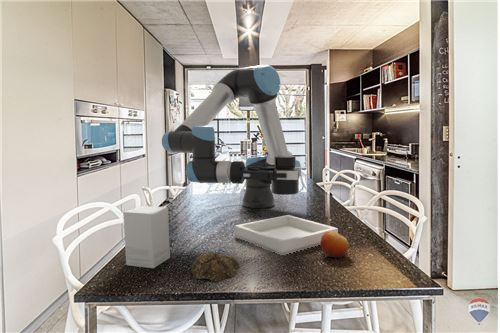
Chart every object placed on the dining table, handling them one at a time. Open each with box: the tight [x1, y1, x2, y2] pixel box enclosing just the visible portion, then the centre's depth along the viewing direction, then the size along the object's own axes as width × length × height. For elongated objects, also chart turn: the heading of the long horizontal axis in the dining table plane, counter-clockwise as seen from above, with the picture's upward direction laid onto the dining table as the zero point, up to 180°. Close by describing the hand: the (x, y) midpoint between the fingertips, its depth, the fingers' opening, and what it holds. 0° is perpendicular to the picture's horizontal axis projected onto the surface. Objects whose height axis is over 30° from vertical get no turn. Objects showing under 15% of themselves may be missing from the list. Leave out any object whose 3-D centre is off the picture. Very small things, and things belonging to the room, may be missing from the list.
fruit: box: [320, 231, 350, 259], centre depth 109 cm, size 8×8×8 cm
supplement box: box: [122, 205, 171, 269], centre depth 106 cm, size 9×9×15 cm
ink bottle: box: [271, 155, 300, 196], centre depth 124 cm, size 10×9×12 cm
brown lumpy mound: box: [190, 252, 240, 283], centre depth 99 cm, size 13×12×5 cm
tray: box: [234, 214, 339, 256], centre depth 126 cm, size 24×24×4 cm
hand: (299, 173), depth 123 cm, fingers closed on ink bottle, 9 cm apart
